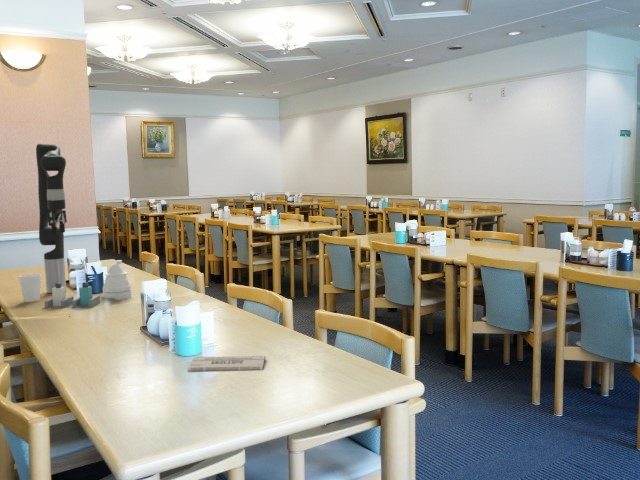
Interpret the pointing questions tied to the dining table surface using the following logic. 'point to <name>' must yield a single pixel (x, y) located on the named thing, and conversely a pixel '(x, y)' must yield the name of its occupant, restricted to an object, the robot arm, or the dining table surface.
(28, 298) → the foam cup
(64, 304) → the comb board
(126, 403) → the dining table surface
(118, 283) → the honey pot
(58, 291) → the white plug
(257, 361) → the newspaper
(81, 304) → the teal plug
